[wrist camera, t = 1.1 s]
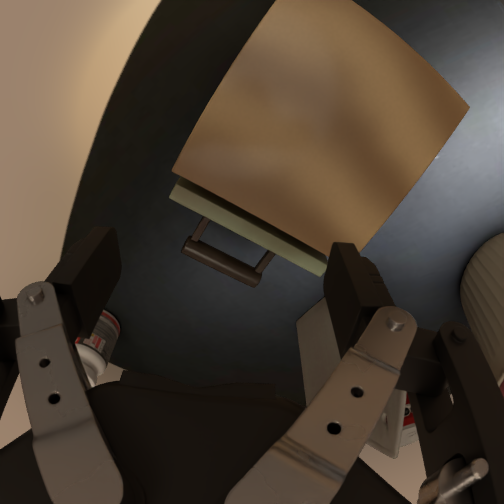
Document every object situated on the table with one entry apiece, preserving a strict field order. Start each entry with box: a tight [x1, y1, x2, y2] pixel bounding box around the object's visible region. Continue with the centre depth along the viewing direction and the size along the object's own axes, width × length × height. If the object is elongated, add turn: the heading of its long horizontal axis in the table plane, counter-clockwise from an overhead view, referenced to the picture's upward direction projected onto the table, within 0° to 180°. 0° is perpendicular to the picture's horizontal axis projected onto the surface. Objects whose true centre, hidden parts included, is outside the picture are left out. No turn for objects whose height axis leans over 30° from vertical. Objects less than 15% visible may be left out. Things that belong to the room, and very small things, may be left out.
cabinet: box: [172, 0, 470, 257], centre depth 22 cm, size 15×14×10 cm
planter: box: [296, 297, 407, 459], centre depth 31 cm, size 16×8×19 cm, turn 3°
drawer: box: [169, 176, 328, 288], centre depth 24 cm, size 19×13×8 cm, turn 149°
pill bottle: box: [75, 310, 120, 387], centre depth 36 cm, size 6×6×10 cm
